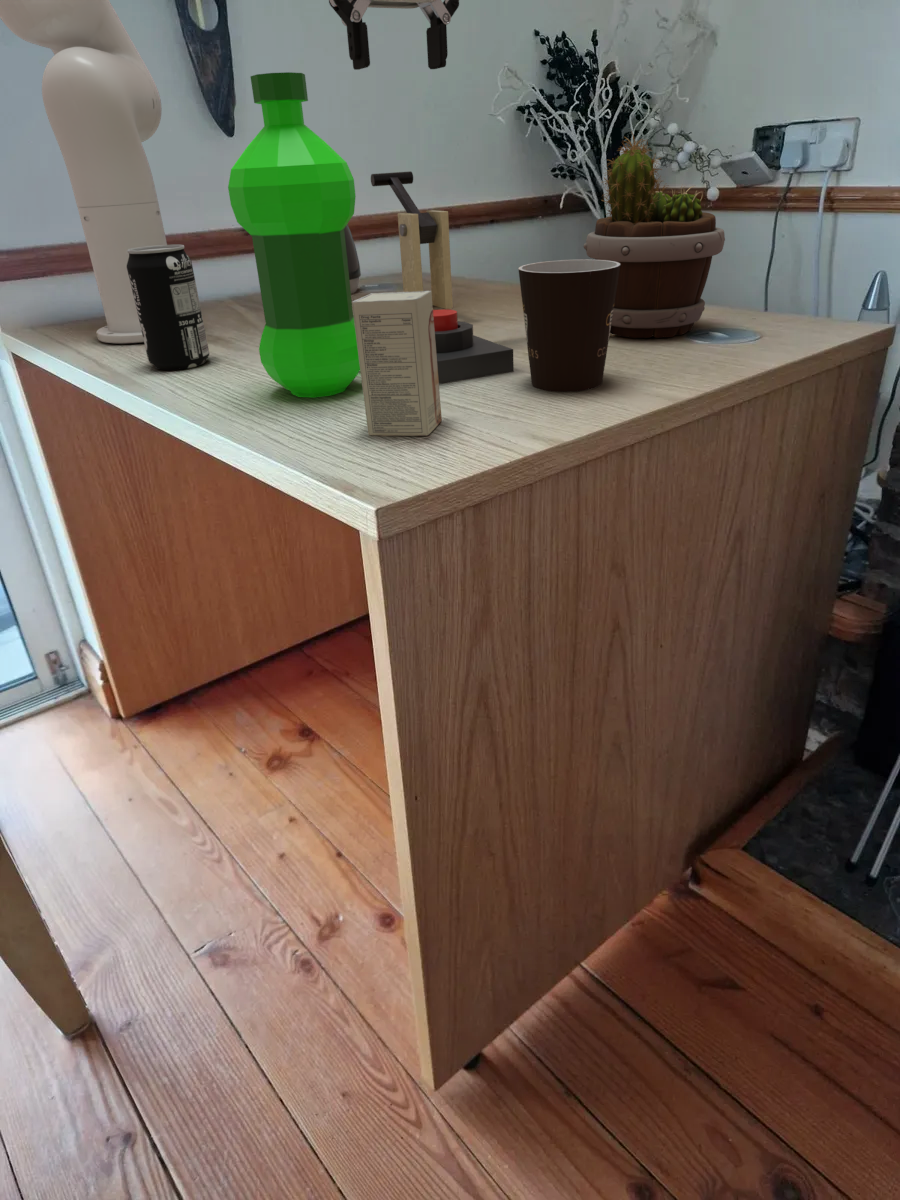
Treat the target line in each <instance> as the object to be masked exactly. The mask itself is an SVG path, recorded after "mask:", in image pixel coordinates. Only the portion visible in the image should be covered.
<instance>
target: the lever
mask: <svg viewBox="0 0 900 1200" xmlns="http://www.w3.org/2000/svg"><path fill="white" fill-rule="evenodd" d="M413 183H414V174H413V172H412V171H397V172H395V171H394V172H381V173H371V174H370V184H371V186H372V187H383V186H389V187H390V189H392V190H391V191H393V193H394V195H395V197H396V198H397V199H398V201H399V202H400V204H401V206H402V207H403V209H404V210H405V213H413V214H418V220H419V235H420V245H424V244H425V245H426V244H429V243H434V241H435V235H436V229H437V224H436V223H435V221H434V220H433V218H432V217H431V215H430V214H429V212H427V211H426V212H421V211H420V210H419V208H418V206H417V205H416V204H415V202H414V200H413V199H412V197H411V196H410V193H408V191H407V190H406V188H405V186H404V185H410V184H411V185H412V184H413Z"/></svg>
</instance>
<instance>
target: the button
mask: <svg viewBox="0 0 900 1200" xmlns="http://www.w3.org/2000/svg"><path fill="white" fill-rule="evenodd" d="M433 318H434V329H435V331H448V330H454V329H457V328H458V321H459V320H458V311H457V310H455V309H444V308H441V309H433Z"/></svg>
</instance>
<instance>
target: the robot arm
mask: <svg viewBox="0 0 900 1200" xmlns="http://www.w3.org/2000/svg"><path fill="white" fill-rule="evenodd" d="M328 4H329V6H330V7H331V8H332V9H333V11H334V12H335V13H336V14H337V15H338V17H339V18H340V19H341V23H342V24H343V26H345V27H346V36H347V44H348V45H347V46H348V56H349V59H350V61H352V67H353V70H355V71H356V70H357V71H359V70H363V69H367V68H369V67H370V66H371V57H370V55H371V54H370V45H369V43H370V42H369V33H368V32H369V31H368V24H366V23H367V22H365V21H363V17H364V16H365V13H366V11H367V10H368V8H371V9H372V8H374V9H401V10H403V9H404V10H405V9H408V10H411V9H412V10H413V9H417V8H419V9H420V11H421V12H422V14H423V15H424V17H425V18H426V19H427V21H428V23H429V24H430V25H429V27H427V28H426V32H425V33H426V51H427V67H428V69H429V70H437V69H438V70H439V69H442V68H445V67H447V58H448V31H447V30H448V29H447V28H448V27H447V25H449V24H450V23H451V20H452V17H453V16H454V14H455V13H456V12H457V10H458V8H459V7H460V0H443V1H442V0H328ZM0 19H1V21H2V23H3V24H4V25H5V26H6V27H7V28H8V30H9V31H11V33H12V34H14V35H15V36H17V37H18V38H20V39H21V40H23V41H25V42H26V43H30V44H32V45H35V46H38V47H39V46H40V47H42V48H46V49H50V50H51V52H52V53H53V56H52V57H51V58H50V59H49V60H48V62H47V64H46V66H45V67H44V70H43V74H42V79H41V95H42V96H41V97H42V102H43V106H44V110H45V113H46V116H47V119H48V122H49V124H50V127H51V130H52V133H53V134H54V137H55V139H56V142H57V145H58V147H59V150H60V153H61V155H62V158H63V161H64V164H65V168H66V170H67V173H68V177H69V181H70V185H71V189H72V191H73V196H74V200H75V204H76V207H77V210H78V214H79V219H80V222H81V226H82V231H83V234H84V238H85V242H86V246H87V250H88V254H89V258H90V262H91V265H92V270H93V273H94V278H95V281H96V286H97V289H98V293H99V297H100V301H101V305H102V309H103V313H104V317H105V320H106V325H105V326H102V327H100V328H98V329H97V330H96V336H97V339H98V341H100V342H102V343H105V344H106V343H107V344H138V343H139V344H141V343H144V339H143V335H142V331H141V326H140V322H139V318H138V314H137V309H136V305H135V301H134V297H133V292H132V288H131V284H130V279H129V275H128V271H127V262H128V259H129V253H128V252H127V250H128V249H132V248H139V247H146V246H157V245H168V243H167V238H166V233H165V227H164V223H163V218H162V213H161V207H160V203H159V199H158V195H157V190H156V185H155V180H154V177H153V173H152V170H151V166H150V164H149V160H148V157H147V154H146V152H145V149H144V147H143V143H144V142H146V141H148V140H149V139H150V138H152V136H154V134H155V133H156V131H157V130H158V129H159V126H160V123H161V119H162V108H163V107H162V100H161V96H160V93H159V89H158V87H157V83H156V82H155V79H154V77H153V76H152V74H151V72H150V70H149V68H148V67H147V65H146V62H145V61H144V59H143V58H142V56H141V54H140V53H139V51H138V49H137V46H136V45H135V43H134V41H133V40H132V39H131V36H130V35H129V33H128V31H127V29H126V28H125V26H124V23H123V22H122V20H121V19H120V17H119V16H118V13H117V12H116V10H115V8H114V6H113V5H112V3H111V1H110V0H0Z"/></svg>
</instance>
